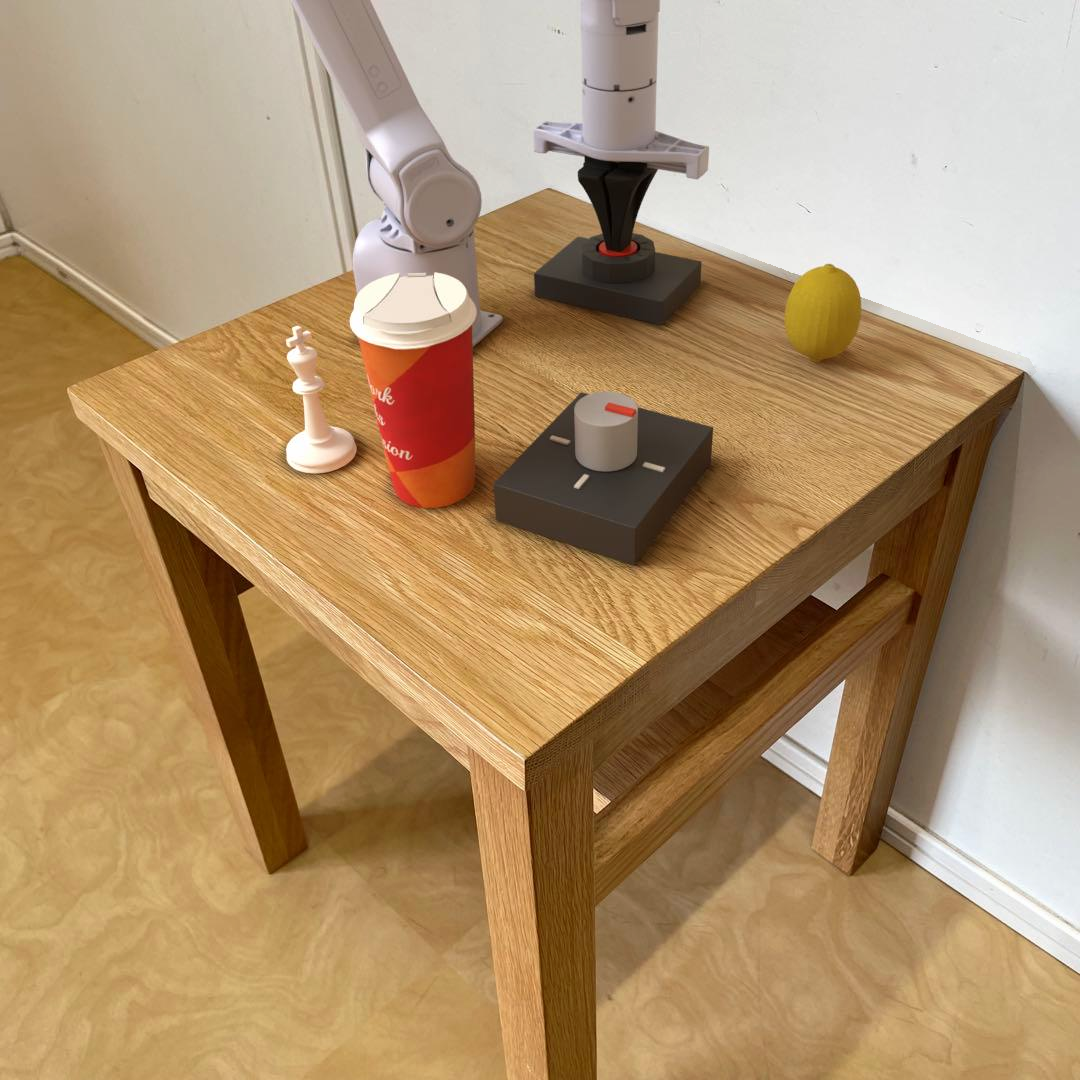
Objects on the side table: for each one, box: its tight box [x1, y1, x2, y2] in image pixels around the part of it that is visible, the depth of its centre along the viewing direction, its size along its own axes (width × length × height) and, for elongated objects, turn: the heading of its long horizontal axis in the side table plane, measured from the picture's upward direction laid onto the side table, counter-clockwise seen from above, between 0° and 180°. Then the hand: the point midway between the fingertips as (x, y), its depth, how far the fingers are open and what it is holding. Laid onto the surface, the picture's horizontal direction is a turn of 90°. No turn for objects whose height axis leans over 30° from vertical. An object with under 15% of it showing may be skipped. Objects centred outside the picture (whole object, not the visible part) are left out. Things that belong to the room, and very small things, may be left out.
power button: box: [599, 241, 637, 258], centre depth 94 cm, size 3×3×2 cm
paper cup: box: [349, 272, 477, 509], centre depth 71 cm, size 8×8×14 cm
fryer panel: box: [492, 392, 714, 566], centre depth 73 cm, size 10×12×3 cm
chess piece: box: [285, 325, 358, 474], centre depth 76 cm, size 5×5×10 cm
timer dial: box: [574, 391, 638, 472], centre depth 71 cm, size 4×4×4 cm
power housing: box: [533, 232, 703, 326], centre depth 95 cm, size 12×8×4 cm, turn 61°
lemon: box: [784, 263, 862, 363], centre depth 83 cm, size 6×6×8 cm
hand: (618, 246), depth 93 cm, fingers closed, pressing on power button
